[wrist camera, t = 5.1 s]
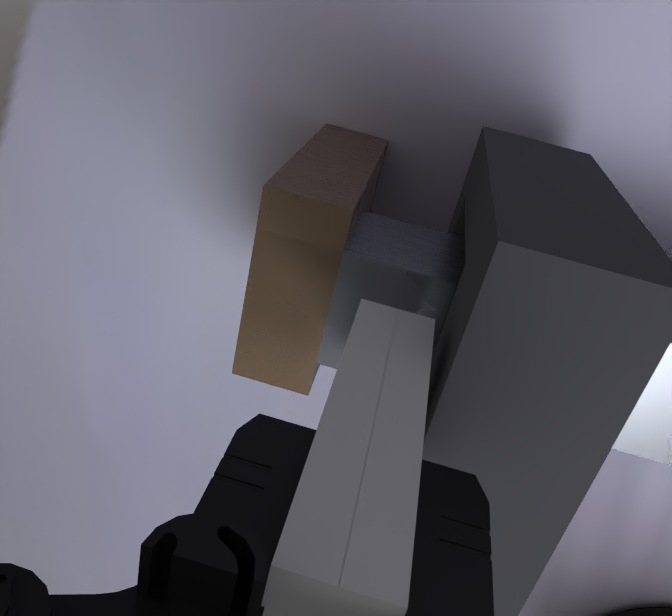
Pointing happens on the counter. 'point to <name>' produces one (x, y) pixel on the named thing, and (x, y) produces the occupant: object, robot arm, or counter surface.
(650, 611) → the container
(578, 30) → the counter surface
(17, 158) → the counter surface
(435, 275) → the bar
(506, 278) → the collar
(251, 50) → the counter surface
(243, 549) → the robot arm
